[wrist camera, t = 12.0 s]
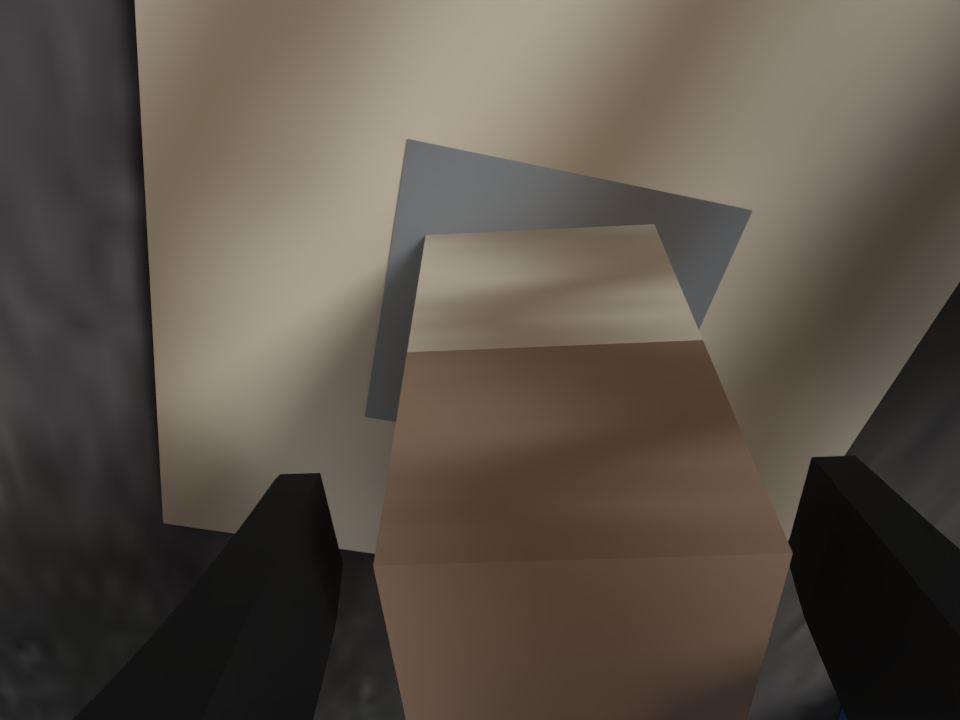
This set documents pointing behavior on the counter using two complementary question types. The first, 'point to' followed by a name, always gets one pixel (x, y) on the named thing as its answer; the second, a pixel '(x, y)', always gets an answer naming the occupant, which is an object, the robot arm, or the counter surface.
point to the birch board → (530, 208)
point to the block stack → (570, 492)
